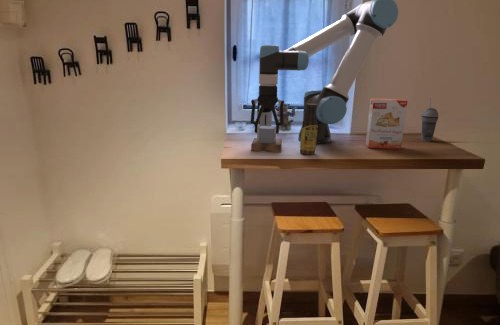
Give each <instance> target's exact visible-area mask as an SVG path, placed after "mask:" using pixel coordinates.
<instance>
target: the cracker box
mask: <svg viewBox="0 0 500 325" xmlns="http://www.w3.org/2000/svg"><path fill="white" fill-rule="evenodd" d="M369 101H370V102H369V111H368V120H367V128H366V136H365V138H366V139H365V146H366V147H367V148H368V149H390V150H401V149H402V144H403V143H402V142H403V137H404V136H403V135H404V130H405V122H406V115H407V109H408V108H407V107H408V100H407V99H400V98H370V100H369Z"/></svg>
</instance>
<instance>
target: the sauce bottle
mask: <svg viewBox="0 0 500 325" xmlns="http://www.w3.org/2000/svg"><path fill="white" fill-rule="evenodd" d="M306 107H307V110H306V116H305V118H304V120H303V119H302V122H301V123H302V125H301V127H302V131H301V141H300V145H299V151H300V154H302V155H309V156H310V155H311V156H312V155H315V153H316V151H317V150H316V149H317V143H316V140H317V129H318V124H317V118H316V108H317V104H307V105H306Z"/></svg>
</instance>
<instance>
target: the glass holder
mask: <svg viewBox="0 0 500 325" xmlns="http://www.w3.org/2000/svg"><path fill="white" fill-rule="evenodd" d="M260 108H261V105H260V103H259V102H258V101H257V108H256V109H257V110H256V117H257V116H258V113H259V111H260ZM272 118H273V113H272V110H271V108H264V109H263V111H262V114H261V117H260V120H259V122H258V125H260V126H272V124H273V123H272V122H273V119H272Z"/></svg>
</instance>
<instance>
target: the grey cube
mask: <svg viewBox="0 0 500 325" xmlns="http://www.w3.org/2000/svg"><path fill="white" fill-rule="evenodd" d="M274 126H275V125H273V126H260V128H259V143H274Z"/></svg>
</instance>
